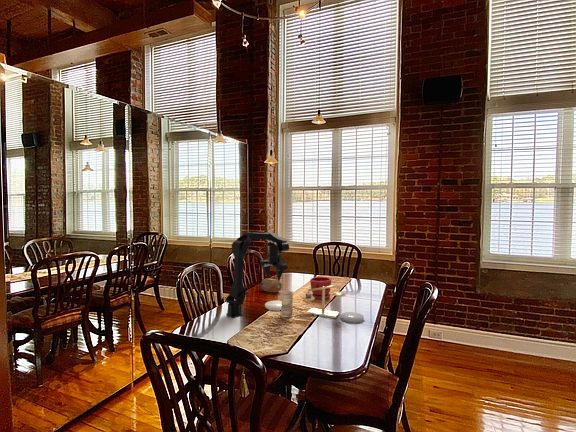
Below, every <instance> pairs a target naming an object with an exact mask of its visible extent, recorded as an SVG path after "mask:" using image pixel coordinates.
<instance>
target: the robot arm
mask: <svg viewBox="0 0 576 432" xmlns="http://www.w3.org/2000/svg"><path fill="white" fill-rule="evenodd" d="M253 240H259V241H260V240H261V241H262V240H263V241H264V240H265V241H267V244H265V246H267V247H268V254H267V255H266V256H267V258H268V259H263V260H260V262H259V266H261V268H262V270H263V272H264V273H265V276H266V279H267V278H268V279H270V275H271V274H270V273H271V272H270V271H271V267H275V268H276V269H275V273H276V278H277V279H276V280H278V281H280V282H281V278H282V275H283V273H284V272H285V271H287V270H288V269H289V268H288V266H289V265H288V264H286V261H287V259H286V258H284V257H281V254H280V253H283V252H284V253H285V252H288V251H289V250H290V245H289V243H288V240H284V239H281V238H278V237H276V236H275V235H274V234H272V233H271V232H270V231H266V232H252V231H245V232H244V233H243V235H241V236H239V237H238V238H237V239H236V240H234V241H232V243H231V252H232V254H233V258H234V260H233V262H234V263H233V283H232V285H231V287H230V291H229V293H228V295H227V297H226V298H225V303H226V304H227V313H226V316H228V317H231V318H236V317H240V316H243V313H242V305H243V304H244V301H245V298H246V295H247V287H246V286H244V284H243V283H244V282H243V279H244V261H245V260H244V259H245V256H246V255H247V253H248V248H249V247H250V246H251V243H252V241H253Z"/></svg>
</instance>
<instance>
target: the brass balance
mask: <svg viewBox="0 0 576 432" xmlns="http://www.w3.org/2000/svg"><path fill="white" fill-rule="evenodd" d="M340 287H341V285H340V284H336V285H331V286H328V287H325V286H323V287H321V288H314V289H311V288H310V289H309V288H308V292H307V293H305V295H303V296H301V300H304V301H308V302H310V301H311V302H312V301H315V299H316V298H315V297H313V296H312V293H310V292H312V291H313V290H320V289H322V299H321V309H320V308H315V307H311V308H310V309H308V311H307V312H306V313H310V314H309V315H311V314H316V315H315V316H317V315H319V317H324V318H331V319H336V318H337V317H339V315H340V311H335V310H327V309H325V306H326V304H325V303H326V302H325V301H326V299H325V289H327V288H331V289H332V288H338V291H332V295H333V296H334V297H346V296H347V294H346V293H345V292H343V291H340Z"/></svg>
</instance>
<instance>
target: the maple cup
mask: <svg viewBox="0 0 576 432" xmlns="http://www.w3.org/2000/svg"><path fill="white" fill-rule="evenodd" d="M280 291H281V292H280V294H281V301H282V308H281V311H280V317H281V316H282V318H284V317H290V318H292V316H293V317H294V312H293V311H294V310H293V308H294V307H293V306H294V305H293V303H294V300H293V299H294V298H293V297H294V290H290V289H285V290H280Z"/></svg>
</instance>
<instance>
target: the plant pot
mask: <svg viewBox="0 0 576 432" xmlns="http://www.w3.org/2000/svg"><path fill="white" fill-rule="evenodd" d="M309 283H310V289H314V288H321V287H323V286H325V287H328V286H332V279H331V278H330V277H327V276H315V277H314V276H313V277H311V278H310V282H309ZM331 289H332V288H327V289H325V300H326V299H329V298H330V297H331V293H330V291H331ZM311 292H312V293H311V296H313V297H315V299H316V298H317V300H322V289H320V290H313V291H311Z"/></svg>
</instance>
